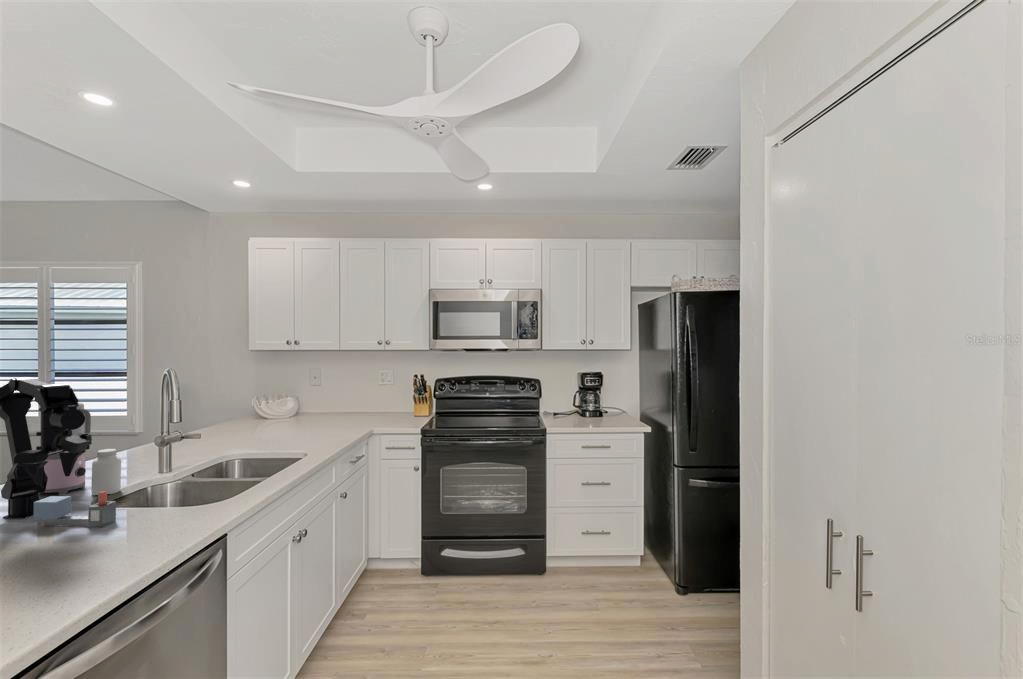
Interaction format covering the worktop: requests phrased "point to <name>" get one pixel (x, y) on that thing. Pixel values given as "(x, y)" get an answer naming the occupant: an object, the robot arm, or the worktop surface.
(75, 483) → the blender
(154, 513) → the worktop surface
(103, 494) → the gauge button
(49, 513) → the pale blue box
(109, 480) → the pill bottle
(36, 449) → the robot arm
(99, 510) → the end cabinet
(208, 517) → the worktop surface
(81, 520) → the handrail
